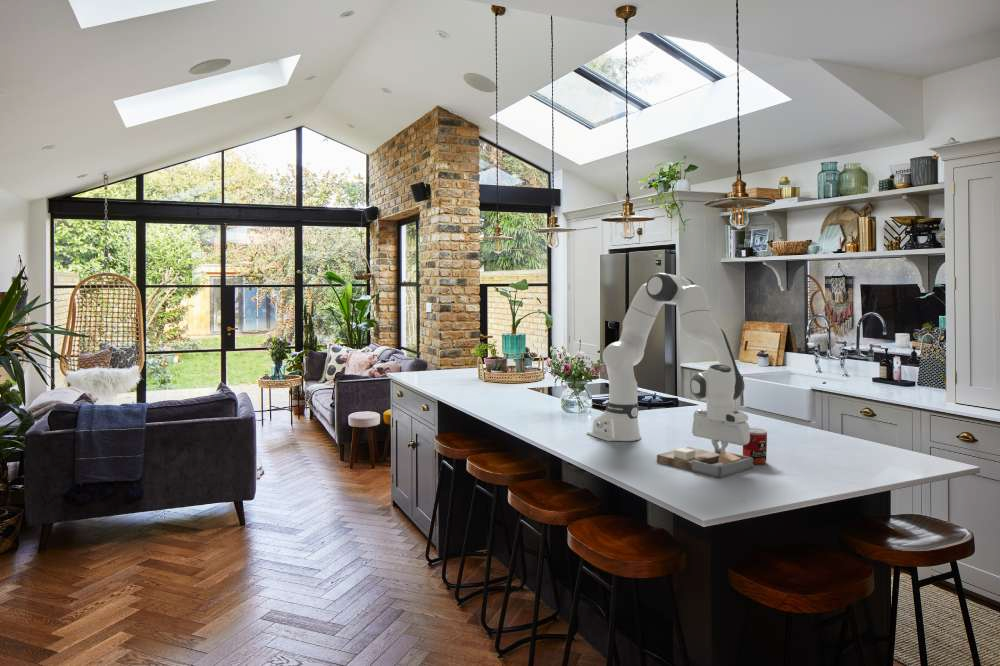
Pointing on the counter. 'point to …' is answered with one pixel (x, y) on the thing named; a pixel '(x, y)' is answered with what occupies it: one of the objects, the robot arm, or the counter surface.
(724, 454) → the tile terracotta
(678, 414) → the counter surface
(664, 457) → the board
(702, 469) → the tray
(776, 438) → the counter surface
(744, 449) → the canned food
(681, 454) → the tile cream
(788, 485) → the counter surface
